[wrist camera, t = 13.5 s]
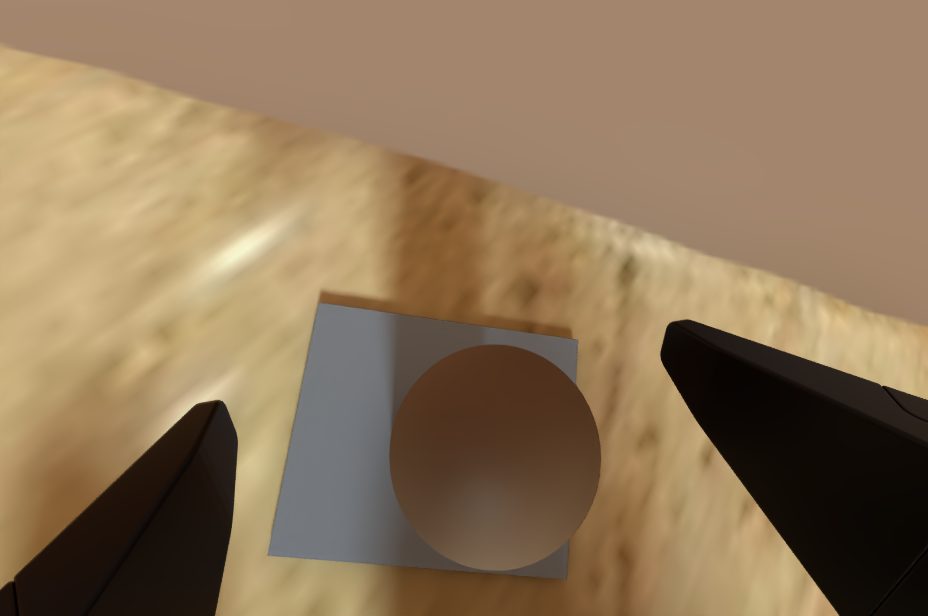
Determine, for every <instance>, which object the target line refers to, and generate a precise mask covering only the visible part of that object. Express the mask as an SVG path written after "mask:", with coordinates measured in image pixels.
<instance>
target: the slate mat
mask: <svg viewBox="0 0 928 616" xmlns="http://www.w3.org/2000/svg"><path fill="white" fill-rule="evenodd" d="M490 344H497V345H509V346H514V347H519V348H522V349H525V350H528V351H531V352H533V353H536V354H538V355H540V356H542V357H544V358H545V359H547V360H548V361H550V362H552V363H553V364H555V365H556V366H557V367H558V368H559V369H561V370H562V371H563V372H564V373H565V374H566V375H567V376H568V377H569V378H570V379H571V380H572V381H573V382H574V384H575V385H576V372H577V350H578V340H576V339H569V338H562V337H555V336H548V335H541V334H534V333H527V332H520V331H513V330H506V329H499V328H492V327H485V326H478V325H471V324H464V323H457V322H451V321H444V320H437V319H430V318H423V317H416V316H409V315H402V314H395V313H388V312H381V311H374V310H367V309H360V308H353V307H346V306H339V305H332V304H326V303H319V304H318V309H317V314H316V319H315V324H314V329H313V334H312V339H311V343H310V348H309V353H308V358H307V363H306V368H305V373H304V378H303V383H302V388H301V393H300V398H299V403H298V408H297V412H296V417H295V422H294V427H293V432H292V437H291V442H290V447H289V452H288V457H287V462H286V467H285V472H284V477H283V482H282V486H281V491H280V496H279V501H278V506H277V511H276V516H275V521H274V526H273V531H272V536H271V541H270V546H269V551H268V555H267V556H279V557H291V558H304V559H316V560H329V561H341V562H354V563H366V564H379V565H391V566H404V567H416V568H429V569H441V570H454V571H467V572H479V573H492V574H504V575H517V576H529V577H542V578H554V579H567V572H568V549H569V540H568V541H567V542H566V543H564V544H563V545H562V546H561V547H560V548H559V549H558V550H556V551H555V552H553V553H552V554H550V555H549V556H547V557H546V558H544V559H542V560H540V561H538V562H536V563H533V564H531V565H527V566H524V567H521V568H517V569H511V570H504V571H489V570H481V569H475V568H471V567H468V566H464V565H461V564H459V563H457V562H454V561H452V560H450V559H448V558H446V557H445V556H443V555H441V554H440V553H438V552H437V551H435V550H434V549H433V548H432V547H431V546H429V545H428V544H427V543H426V542H425V541H424V540H423V539H422V538H421V537H420V536H419V535H418V534H417V533H416V531H415V530H414V529H413V528H412V526H411V525H410V523H409V522H408V520H407V519H406V517H405V516H404V513H403V511H402V509H401V507H400V505H399V503H398V501H397V498H396V495H395V492H394V489H393V485H392V479H391V474H390V463H389V450H390V438H391V432H392V427H393V423H394V420H395V418H396V415H397V412H398V410H399V408H400V406H401V404H402V402H403V400H404V398H405V396H406V395H407V393H408V392H409V390H410V389H411V387H412V386H413V385H414V383H415V382H416V381H417V380H418V379H419V377H420V376H421V375H422V374H424V373H425V372H426V371H427V370H428V369H429V368H430V367H431V366H433V365H434V364H435V363H437V362H438V361H440V360H441V359H443V358H445V357H447V356H449V355H451V354H452V353H454V352H457V351H460V350H463V349H466V348H469V347H474V346H479V345H490Z"/></svg>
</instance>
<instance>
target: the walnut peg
mask: <svg viewBox="0 0 928 616" xmlns="http://www.w3.org/2000/svg"><path fill="white" fill-rule="evenodd" d="M389 463H390V474H391V479H392V485H393V489H394V492H395V495H396V498H397V501H398V503H399V505H400V507H401V509H402V511H403V513H404V516H405V517H406V519H407V520H408V522H409V523H410V525H411V526H412V528H413V529H414V530H415V531H416V533H417V534H418V535H419V536H420V537H421V538H422V539H423V540H424V541H425V542H426V543H427V544H428V545H429V546H431V547H432V548H433V549H434V550H435V551H437V552H438V553H440V554H441V555H443V556H445V557H446V558H448V559H450V560H452V561H454V562H457V563H459V564H461V565H464V566H468V567H471V568H475V569H481V570H489V571H504V570H511V569H517V568H521V567H524V566H527V565H531V564H533V563H536V562H538V561H540V560H542V559H544V558H546V557H547V556H549V555H550V554H552V553H553V552H555V551H556V550H558V549H559V548H560V547H561V546H562V545H563V544H564V543H566V542H567V541H568V540H569V539H570V538H571V536H572V535H573V534H574V533H575V532H576V531H577V529H578V528H579V527H580V525H581V523H582V522H583V520H584V519H585V517H586V516H587V513H588V511H589V509H590V507H591V505H592V503H593V500H594V497H595V494H596V491H597V487H598V482H599V477H600V467H601V450H600V441H599V435H598V430H597V427H596V423H595V420H594V417H593V415H592V412H591V410H590V407H589V405H588V403H587V402H586V400H585V398H584V396H583V395H582V393H581V392H580V390H579V389H578V388H577V386H576V385H575V384H574V382H573V381H572V380H571V379H570V378H569V377H568V376H567V375H566V374H565V373H564V372H563V371H562V370H561V369H559V368H558V367H557V366H556V365H555V364H553V363H552V362H550V361H548V360H547V359H545V358H544V357H542V356H540V355H538V354H536V353H533V352H531V351H528V350H525V349H522V348H519V347H514V346H509V345H497V344H490V345H479V346H474V347H469V348H466V349H463V350H460V351H457V352H454V353H452V354H451V355H449V356H447V357H445V358H443V359H441V360H440V361H438V362H437V363H435V364H434V365H433V366H431V367H430V368H429V369H428V370H427V371H426V372H425V373H424V374H422V375H421V376H420V377H419V379H418V380H417V381H416V382H415V383H414V385H413V386H412V387H411V389H410V390H409V392H408V393H407V395H406V396H405V398H404V400H403V402H402V404H401V406H400V408H399V410H398V412H397V415H396V418H395V420H394V423H393V427H392V432H391V438H390V450H389Z"/></svg>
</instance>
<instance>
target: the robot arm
mask: <svg viewBox="0 0 928 616" xmlns="http://www.w3.org/2000/svg"><path fill="white" fill-rule="evenodd" d="M660 355H661V361H662V363H663V365H664V367H665V369H666V371H667V372H668V374H669V376H670V377H671V379H672V381H673V382H674V384H675V386H676V387H677V389H678V391H679V393H680V394H681V396H682V398H683V399H684V401H685V403H686V404H687V406H688V408H689V409H690V411H691V413H692V414H693V416H694V418H695V419H696V421H697V422H698V424H699V425H700V426H701V428H702V429H703V431H704V432H705V433H706V435H707V436H708V438H709V439H710V440H711V442H712V443H713V444H714V446H715V447H716V448H717V450H718V451H719V453H720V454H721V455H722V457H723V458H724V459H725V461H726V462H727V463H728V465H729V466H730V467H731V469H732V470H733V472H734V473H735V474H736V476H737V477H738V478H739V480H740V481H741V482H742V484H743V485H744V487H745V488H746V489H747V491H748V492H749V493H750V495H751V496H752V497H753V499H754V500H755V501H756V503H757V504H758V506H759V507H760V508H761V510H762V511H763V512H764V514H765V515H766V516H767V518H768V519H769V521H770V522H771V523H772V525H773V526H774V527H775V529H776V530H777V531H778V533H779V534H780V536H781V537H782V538H783V540H784V541H785V542H786V544H787V545H788V546H789V548H790V549H791V550H792V552H793V553H794V555H795V556H796V557H797V559H798V560H799V561H800V563H801V564H802V565H803V567H804V568H805V570H806V571H807V572H808V574H809V575H810V576H811V578H812V579H813V580H814V582H815V583H816V585H817V586H818V587H819V589H820V590H821V591H822V593H823V594H824V595H825V597H826V598H827V599H828V601H829V602H830V604H831V605H832V606H833V608H834V609H835V610H836V612H837V613H838V614H839V616H928V400H926V399H923V398H920V397H917V396H914V395H911V394H908V393H905V392H902V391H899V390H896V389H893V388H890V387H887V386H881V385H880V384H878V383H875V382H872V381H869V380H866V379H863V378H860V377H857V376H854V375H851V374H848V373H845V372H843V371H840V370H837V369H834V368H831V367H828V366H825V365H822V364H819V363H816V362H813V361H810V360H807V359H804V358H801V357H798V356H795V355H792V354H789V353H787V352H784V351H781V350H778V349H775V348H772V347H769V346H766V345H763V344H760V343H757V342H754V341H751V340H748V339H745V338H742V337H739V336H736V335H733V334H731V333H728V332H725V331H722V330H719V329H716V328H713V327H710V326H707V325H704V324H701V323H698V322H695V321H692V320H687V319H686V320H679V321H674V322H671V323H669V325H668V326H667V328H666V332H665V336H664V340H663V344H662V348H661V353H660ZM237 450H238V438H237V433H236V430H235V427H234V425H233V422H232V420H231V417H230V415H229V412H228V410H227V407H226V405H225V404H224V402H223V401H221V400H214V401H208V402H202V403H198V404H196V405H195V406H194V407H192V408H191V409H190V410H189V411H188V412H187V413H186V414H185V415H184V416H183V417H182V418H181V419H180V420H179V421H178V422H177V423H176V424H174V425H173V426H172V427H171V428H170V429H169V430H168V431H167V432H166V433H165V434H164V435H163V436H162V437H161V438H160V439H159V440H158V441H157V442H156V443H154V444H153V445H152V446H151V447H150V448H149V449H148V450H147V451H146V452H145V453H144V454H143V455H142V456H141V457H140V458H139V459H138V460H137V461H135V462H134V463H133V464H132V465H131V466H130V467H129V468H128V469H127V470H126V471H125V472H124V473H123V474H122V475H121V476H120V477H119V478H118V479H116V480H115V481H114V482H113V483H112V484H111V485H110V486H109V487H108V488H107V489H106V490H105V491H104V492H103V493H102V494H101V495H100V496H99V497H98V498H96V499H95V500H94V501H93V502H92V503H91V504H90V505H89V506H88V507H87V508H86V509H85V510H84V511H83V512H82V513H81V514H80V515H79V516H77V517H76V518H75V519H74V520H73V521H72V522H71V523H70V524H69V525H68V526H67V527H66V528H65V529H64V530H63V531H62V532H61V533H60V534H59V535H57V536H56V537H55V538H54V539H53V540H52V541H51V542H50V543H49V544H48V545H47V546H46V547H45V548H44V549H43V550H42V551H41V552H40V553H38V554H37V555H36V556H35V557H34V558H33V559H32V560H31V561H30V562H29V563H28V564H27V565H26V566H25V567H24V568H23V569H22V570H21V571H19V572H18V573H17V574H16V575H15V577H14V582H13V581H10V582H8V583H7V584H6V585H4V586H3V587H2V588H1V589H0V616H215V613H216V608H217V603H218V598H219V592H220V587H221V582H222V577H223V571H224V566H225V561H226V556H227V551H228V545H229V540H230V534H231V528H232V521H233V510H234V495H235V480H236V465H237Z"/></svg>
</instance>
